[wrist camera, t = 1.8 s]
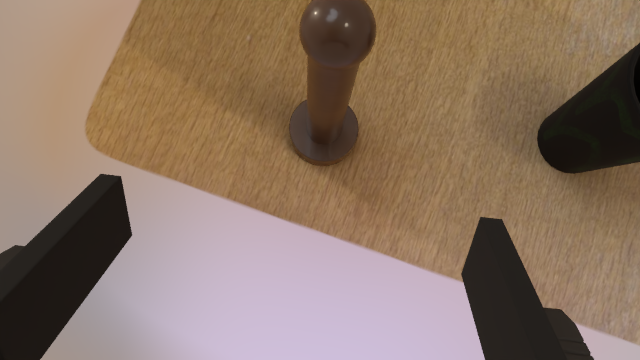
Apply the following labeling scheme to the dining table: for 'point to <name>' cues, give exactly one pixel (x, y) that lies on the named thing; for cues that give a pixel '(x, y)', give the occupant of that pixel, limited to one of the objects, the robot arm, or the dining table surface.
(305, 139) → the brown pepper mill
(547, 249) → the dining table surface
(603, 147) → the cup
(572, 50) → the dining table surface
